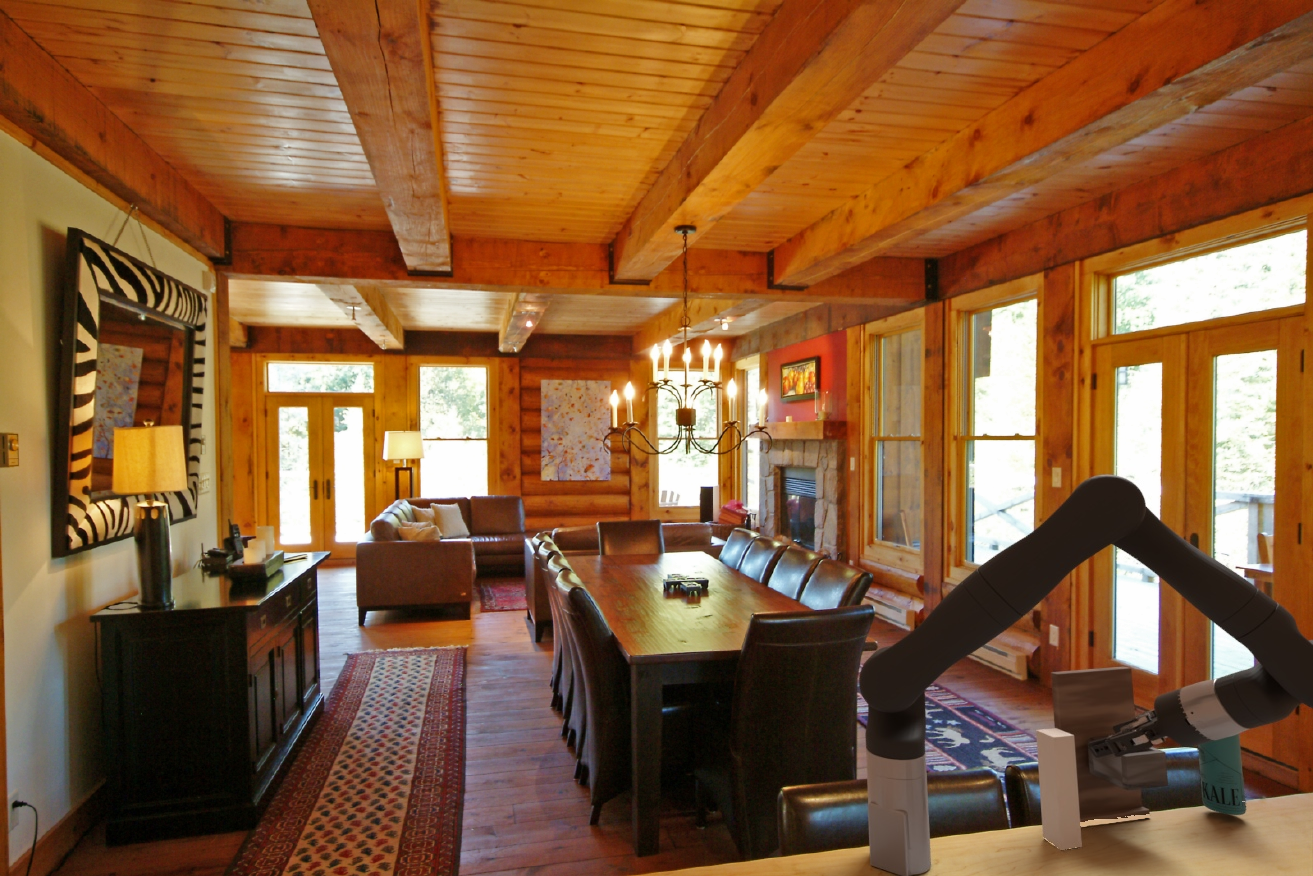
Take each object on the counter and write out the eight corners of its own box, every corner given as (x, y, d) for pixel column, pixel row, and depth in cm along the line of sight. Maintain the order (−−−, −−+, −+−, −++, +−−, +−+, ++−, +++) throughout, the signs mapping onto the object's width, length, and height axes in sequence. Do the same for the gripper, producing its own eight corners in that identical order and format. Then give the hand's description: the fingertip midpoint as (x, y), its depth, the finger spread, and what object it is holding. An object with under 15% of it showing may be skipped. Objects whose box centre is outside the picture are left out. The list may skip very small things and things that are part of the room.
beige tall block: (1082, 848, 117) (1074, 735, 119) (1061, 851, 116) (1053, 737, 118) (1063, 837, 121) (1056, 728, 123) (1043, 839, 120) (1036, 730, 122)
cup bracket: (1192, 839, 119) (1179, 680, 122) (1112, 850, 116) (1100, 687, 118) (1130, 809, 131) (1119, 665, 133) (1056, 819, 128) (1046, 671, 130)
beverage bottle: (1231, 809, 130) (1221, 697, 132) (1258, 825, 124) (1247, 707, 126) (1193, 808, 131) (1184, 697, 133) (1218, 824, 124) (1208, 707, 126)
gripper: (1202, 673, 108) (1109, 705, 120) (1164, 702, 100) (1068, 732, 112) (1238, 722, 105) (1139, 750, 116) (1202, 755, 97) (1099, 781, 108)
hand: (1104, 741), depth 114 cm, fingers open, 8 cm apart
